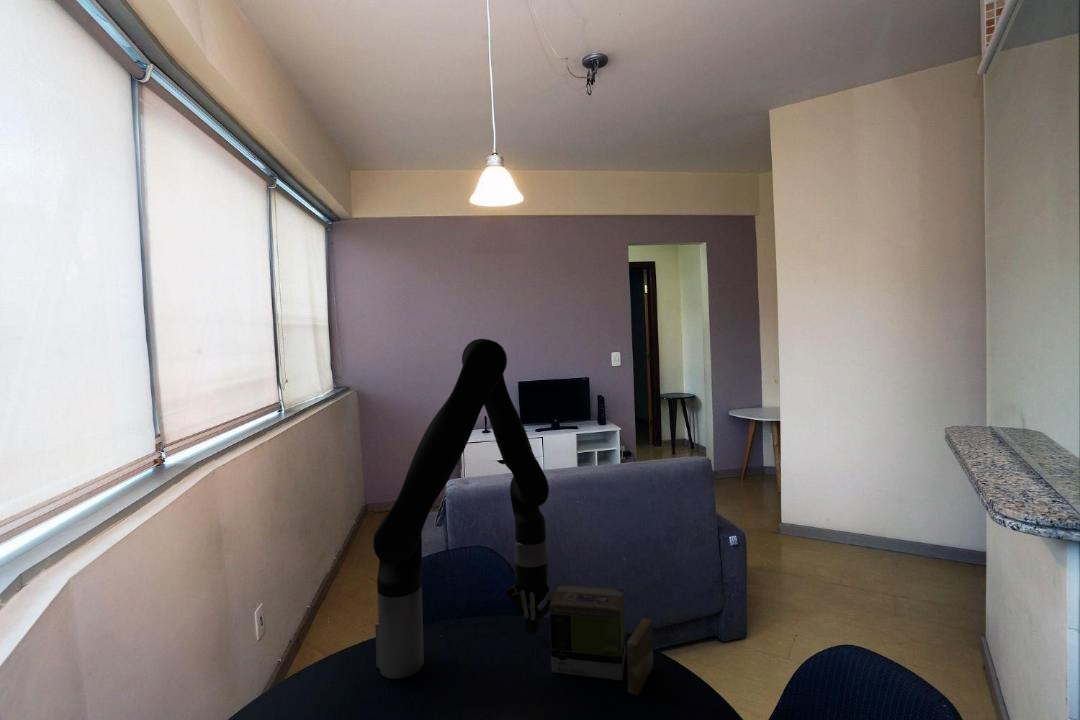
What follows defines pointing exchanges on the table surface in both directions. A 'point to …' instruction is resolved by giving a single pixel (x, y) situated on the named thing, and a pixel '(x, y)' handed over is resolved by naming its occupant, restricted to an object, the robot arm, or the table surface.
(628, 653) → the birch board
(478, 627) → the table surface
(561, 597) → the tea box
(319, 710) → the table surface
